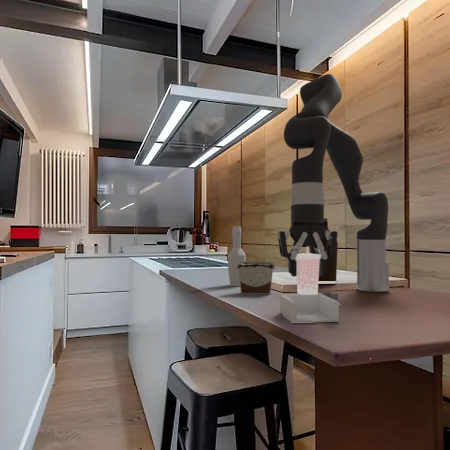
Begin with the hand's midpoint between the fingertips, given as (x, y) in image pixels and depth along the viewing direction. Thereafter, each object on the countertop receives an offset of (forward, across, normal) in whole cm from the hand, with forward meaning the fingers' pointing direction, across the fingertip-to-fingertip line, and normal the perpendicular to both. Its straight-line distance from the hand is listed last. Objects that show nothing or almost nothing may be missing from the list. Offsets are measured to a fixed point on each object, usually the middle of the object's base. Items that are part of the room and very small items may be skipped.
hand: (307, 275), depth 86 cm
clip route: (+10, -7, -11) cm, 16 cm away
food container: (+10, +5, -37) cm, 39 cm away
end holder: (+10, 0, 0) cm, 10 cm away
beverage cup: (+4, 0, 0) cm, 4 cm away
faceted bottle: (+10, +9, -53) cm, 55 cm away
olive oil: (+10, -25, -55) cm, 61 cm away
